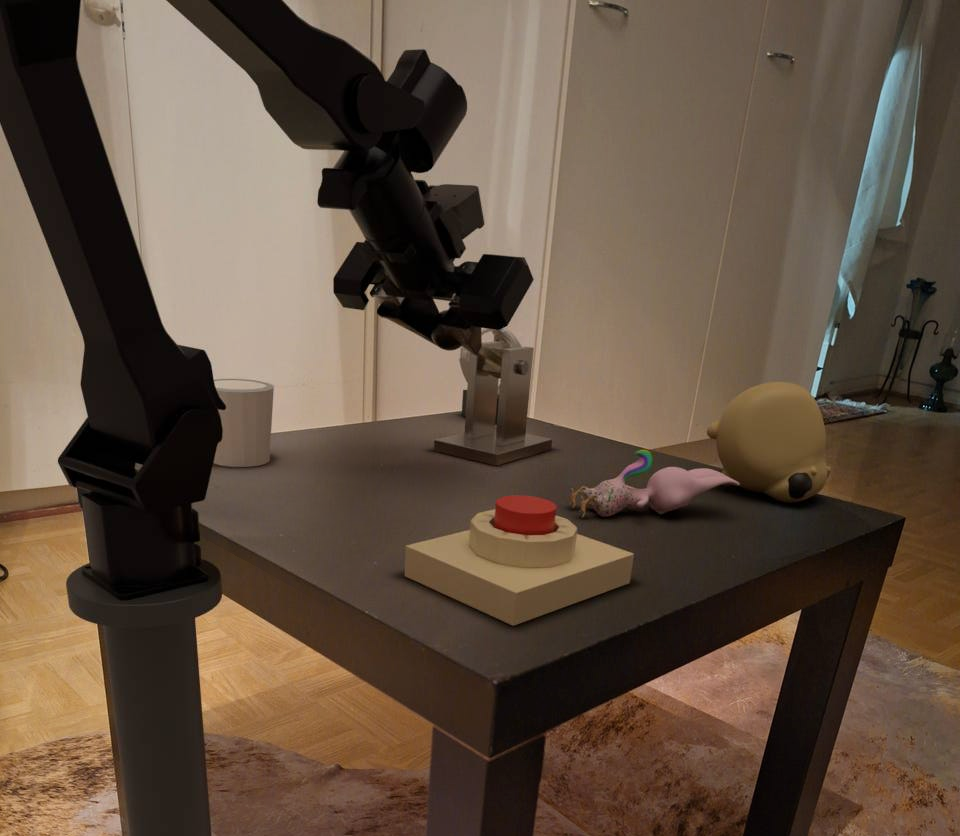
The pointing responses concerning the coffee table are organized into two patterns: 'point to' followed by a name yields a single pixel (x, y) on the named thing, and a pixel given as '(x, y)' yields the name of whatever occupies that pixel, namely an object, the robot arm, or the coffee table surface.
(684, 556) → the coffee table surface
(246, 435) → the white cup
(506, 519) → the button
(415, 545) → the control block
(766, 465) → the tan animal figure
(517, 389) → the switch bracket
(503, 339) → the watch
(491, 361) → the lever
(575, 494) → the pink toy creature
